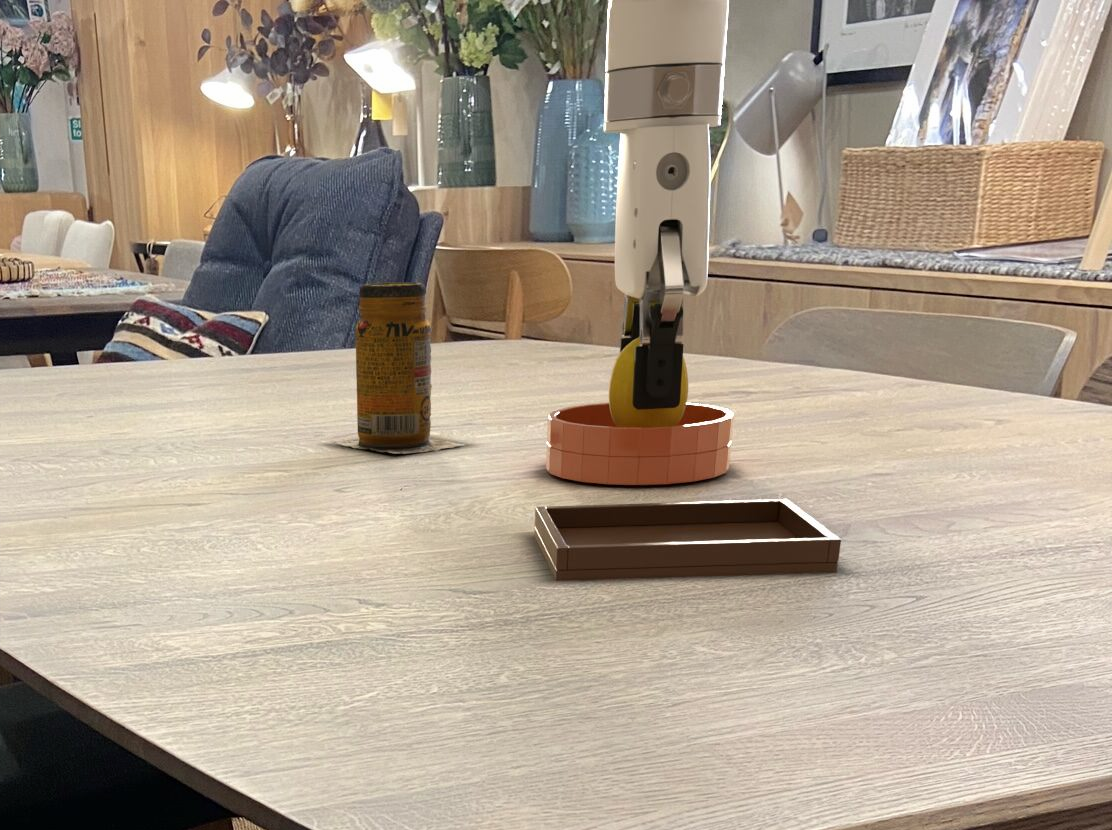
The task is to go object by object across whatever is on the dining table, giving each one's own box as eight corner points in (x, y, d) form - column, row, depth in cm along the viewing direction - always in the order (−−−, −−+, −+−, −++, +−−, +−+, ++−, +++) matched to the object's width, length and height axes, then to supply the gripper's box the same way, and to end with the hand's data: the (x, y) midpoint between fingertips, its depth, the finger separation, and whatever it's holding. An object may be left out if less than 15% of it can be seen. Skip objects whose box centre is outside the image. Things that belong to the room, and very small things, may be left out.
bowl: (706, 454, 111) (711, 399, 109) (745, 486, 100) (752, 424, 98) (537, 460, 111) (539, 404, 109) (557, 492, 100) (560, 430, 98)
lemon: (601, 447, 107) (605, 328, 103) (676, 443, 107) (683, 324, 103) (613, 458, 102) (618, 334, 98) (692, 454, 102) (700, 330, 98)
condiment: (404, 435, 123) (402, 279, 117) (466, 447, 117) (467, 282, 111) (333, 445, 120) (328, 285, 114) (394, 458, 114) (391, 289, 108)
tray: (784, 529, 88) (787, 498, 87) (836, 573, 78) (841, 539, 77) (534, 537, 88) (535, 506, 87) (555, 582, 78) (557, 548, 77)
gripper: (752, 91, 86) (727, 415, 95) (694, 108, 101) (677, 386, 110) (626, 98, 86) (613, 421, 95) (587, 113, 101) (579, 391, 110)
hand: (648, 399), depth 103 cm, fingers closed on lemon, 5 cm apart
